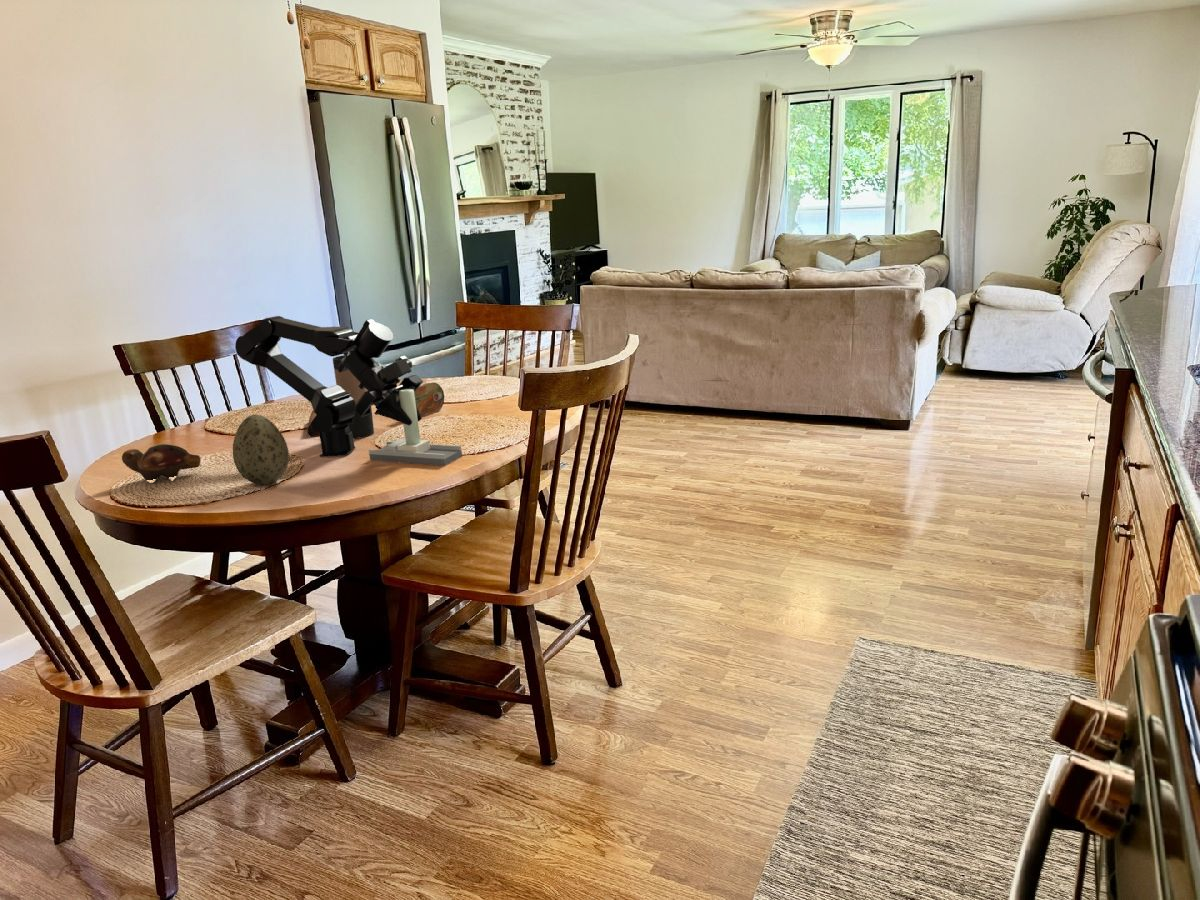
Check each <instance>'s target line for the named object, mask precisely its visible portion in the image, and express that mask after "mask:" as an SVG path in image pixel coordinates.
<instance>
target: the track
mask: <svg viewBox="0 0 1200 900" xmlns="http://www.w3.org/2000/svg"><path fill="white" fill-rule="evenodd" d="M404 442H406V440H405V438H399V439H397V440H395V441H393V440H392V441H389V440H387V441H386V445H384V447H381V448H379V449H368V454H369V455H368V456H369V460H370V461H372V462H373V461H377V462H389V463H400V464H401V463H402V464H415V465H417V464H418V465H428V466H429V465H430V466H443V467H445V466H448V465H449V464H451V463H452V462H455V461H456V460H459V459H460V458H462V457H463V450H462V445H459V444H458V445H456V444H439V443H438V444H437V443H430V449H429V450H427V451H425V452H423V453H421V452H405V451H398V448H397V446H398V445H400V444H402V443H404Z"/></svg>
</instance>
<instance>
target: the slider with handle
mask: <svg viewBox="0 0 1200 900" xmlns="http://www.w3.org/2000/svg"><path fill="white" fill-rule="evenodd" d="M399 395H400V403H401V408H402V409H403V410H404V412H405V413H406V414H407V415H408V417H409V418H410V419H411V421H412V424H411V425H406V424H404V423H402V425H403V431H404V439H405V440H406V442H404V443H402V444H400V445H398V446H397V448H398V451H405V452H421V453H423V452H425V451H427V450H429V449H430V444H431V443H430V442H431V441H430V440H429V439H428V440H427V439H421V437H420V436H421V434H420V427H419V421H418V418H417V411H416V403H415V395H414V390H413V389H405V390H401V391H399Z"/></svg>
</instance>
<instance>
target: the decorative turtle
mask: <svg viewBox="0 0 1200 900" xmlns="http://www.w3.org/2000/svg"><path fill="white" fill-rule="evenodd" d="M121 461H122V463H123V464H124V465H125V466H126V467H127V468H128V469H130V470H131V471H133V472H136V473H139V474H140V475H141V476H142V478H143V479H144V480H145V481H146V480H153V479H157V478H158V479H159V478H160V477H163V478H165V477H166V479H167V478H169V477H174V476H177V477H178V475H179V472H180V471H181V470H188V469H195V468H199V467H200V466H201V456H200V455H199V454H193V453H192V454H191V453H189V452H188V450H186V449H184V447H182V446H178V445H174V444H156V445H154V446H151V447H148V449H147V450H146V451H145V452H144V453H143V452H141V451H140V450H139V449H137V448H131V449H127V450H125V451H124V452H123V454H122V455H121ZM158 479H157V480H158Z"/></svg>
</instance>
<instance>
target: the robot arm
mask: <svg viewBox="0 0 1200 900" xmlns="http://www.w3.org/2000/svg"><path fill="white" fill-rule="evenodd" d="M281 339H286V340H289V341H290V340H291V341H294V342H299V343H303V344H307V345H311V346H312V347H314V348H315V349H316V350H317V351H318V352H320V353H323V354H325V355H327V356H329V357H338V356H342V355H346V356H345V358H344V359H341V360H338V363H339V366H338V372H343V371H347V370H349V371H350V372H351V373H352V374H353V375H354V376H355V377H356V378H357V380H358V381H359V382H360V385H359V387H360V388H361V389H364V388H366V389H367V390H368V391H366V392H364V394H363V395H362V397H361V398H360V399H359V401H358V402H357V404H356V405H355V401H354V399H353V398H352V397H350V395H351V394H350V393H347V392H346V391H344V390H343V389H342V388H341V387H340V386H338V385H336V384H335V385H332V386H328V387H327V386H325V385H324V384H322V383H321V382H319V380H317V379H316V378H315V377H313V376H312V375H310V374H309V373H308V372H307V371H305V370H304V369H302V367H300V366H299V365H297V364H296V363H295V362H294V361H293V360H291V359H290V358H288V357H287V356H286V355H284V353H282V352H281V349H280V346H279V342H280V341H281ZM393 339H394V334H393V331H392V330H391V329H390V328H389V327H388V326H386V325H384V324H382V323H380V322H376V321H375V320H374V319H372V318H370V319H365V321H364V322H363V324H362V327H361V328H360V330H359V332H356V331H354V330H353V329H352V328H351V327H348V326H317V325H314V324H310V323H306V322H300V321H297V320H293V319H290V318H289V319H288V318H285V317H283V316H280V315H274V316H270V317H264V319H263V320H261V321H260V322H259V324H258V323H257V325H256V326H254V327H253V328H250V330H248V331H247V332H245V333H244V334H243V335H239V336H238V337H237V339H236V341H235V346H234V348H235V351H236V354H237V356H238V357H239V358H240V359H242V360H244V361H245V362H248V363H249V364H251V365H252V366H253V365H254V366H256V367H257V366H258V367H262V368H266V369H267V370H268V371H270V372H271V373H272V374H273V375H274V376H276V377H277V378H279V379H280V380H281V381H282V382H283V383H285V384H287V385H288V386H289V387H290V388H292V390H294V391H295V392H296V393H298V394H299V395H301V396H302V397H303V398H304V399H306V400H307V401H308V402H310V404H311V407H312V411H313V410H314V413H315V414H316V416H315V418H314V419H313V421H312V422H311V426H312V428H313V430H314V432H319V435H320V436H319V440H320V446H321V447H320V448H321V453H320V454H319V457H320V458H324V457H341V456H342V457H345V456H348V455H350V453H352V452H353V451H354V450H355V449H356V446H355V439H354V438H353V434H352V431H350V428H349V424H352V423H353V421H354V415H355V413H356V412H357V413H358V414H359V415H360V416H361V417H364V416H366V415H369V414H370V409H369V407H370V406H371V407H372V406H375V409H376V411H374V413H373V414H374V415H375V416H376V415H377V416H378V415H379V416H382V417H385V418H387V419H388V418H389V419H392V420H394V421H396V422H399V423H401V424H403V423H404V424H406V425H411V424H412V421H411V419H410V418H409V417H408V415H407V414H406V413H405V412H404V410H403V409H402V408H401V403H400V395H399V391H401V390H405V389H413V390H414V393H415V392H416V390H417V389H418V388H419V386H420V385H422V384H423V382H424V380H423V379H422V378H421V377H420V376H419V375H418V374H411V375H409V376H406V377H404V378H401V377H402V376H404V375H406V374H409V373H412V368H413V363H412V360H410V359H409V358H408V357H407V356H406V355H402V356H400V357H399V358H396V359H395V361H393V362H392V363H389V365H386V364H381V365H380V364H379V363H378V362H377V361H376V359H377V358H378V359H379V358H381V356H382V355H383V354H384V352H385V350H386V349H387V348H388V346H389V344H390V343H391V342H392V340H393ZM400 381H401V382H400ZM398 384H399V385H398ZM416 411H417V418H418V422H420V421H421V420H422V419H423V417H421V415H420V413H419V411H418V409H417V406H416Z"/></svg>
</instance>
